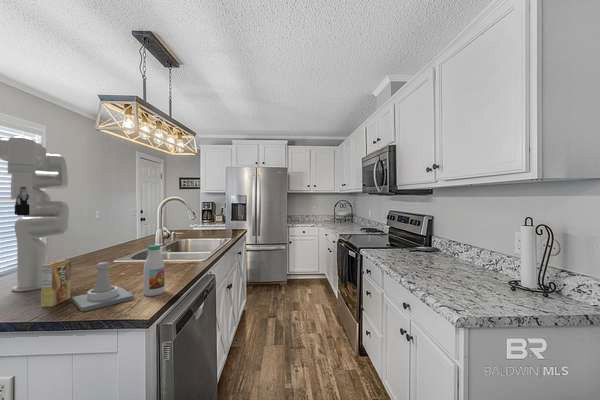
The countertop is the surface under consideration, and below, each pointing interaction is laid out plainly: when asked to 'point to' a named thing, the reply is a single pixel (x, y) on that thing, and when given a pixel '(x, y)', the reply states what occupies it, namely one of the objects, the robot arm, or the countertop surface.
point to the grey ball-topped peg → (102, 278)
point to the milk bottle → (153, 272)
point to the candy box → (55, 282)
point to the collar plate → (101, 303)
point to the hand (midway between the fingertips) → (21, 215)
